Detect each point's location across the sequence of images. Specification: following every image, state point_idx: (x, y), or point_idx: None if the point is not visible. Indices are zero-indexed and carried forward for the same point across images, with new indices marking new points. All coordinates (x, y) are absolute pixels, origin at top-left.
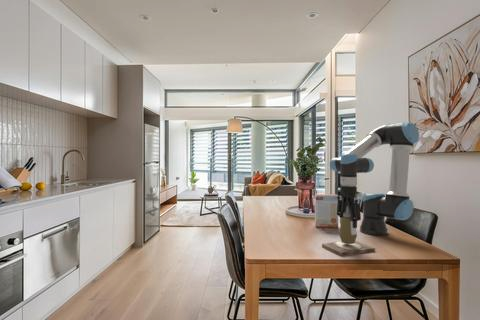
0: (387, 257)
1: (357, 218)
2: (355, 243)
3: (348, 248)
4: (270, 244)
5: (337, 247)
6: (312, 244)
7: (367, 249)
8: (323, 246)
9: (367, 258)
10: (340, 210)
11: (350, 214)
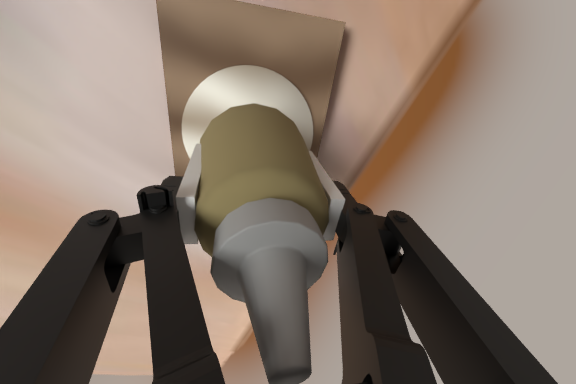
0: (415, 56)
1: (402, 255)
2: (245, 73)
3: None
4: (108, 335)
5: None
6: None
7: (331, 84)
8: None
9: (366, 148)
10: (106, 287)
11: (321, 273)
